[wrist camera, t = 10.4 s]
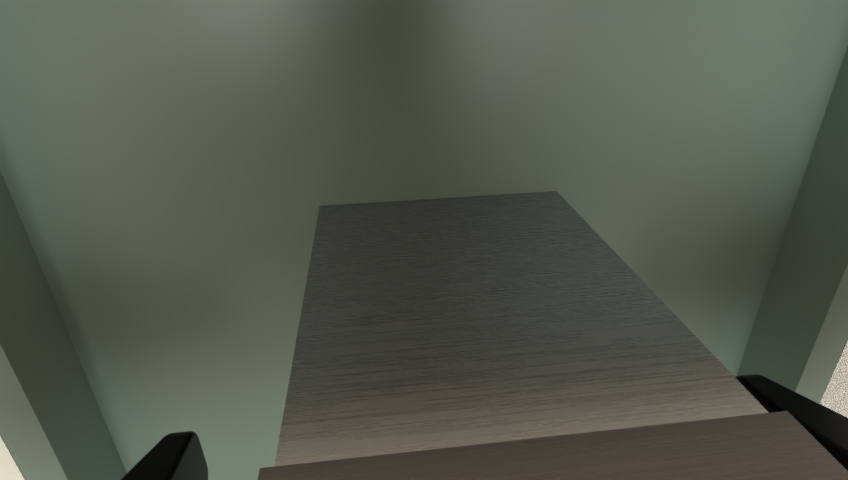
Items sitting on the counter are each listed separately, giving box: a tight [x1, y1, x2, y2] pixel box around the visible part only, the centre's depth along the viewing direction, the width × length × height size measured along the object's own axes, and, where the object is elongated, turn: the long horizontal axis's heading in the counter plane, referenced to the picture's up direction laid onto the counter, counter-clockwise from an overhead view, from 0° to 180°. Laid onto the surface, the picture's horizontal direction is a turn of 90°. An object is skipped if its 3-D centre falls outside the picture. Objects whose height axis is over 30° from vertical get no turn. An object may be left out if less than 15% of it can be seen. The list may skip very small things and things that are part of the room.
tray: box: [0, 0, 848, 480], centre depth 11 cm, size 18×16×2 cm
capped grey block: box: [258, 191, 848, 480], centre depth 9 cm, size 5×5×7 cm
